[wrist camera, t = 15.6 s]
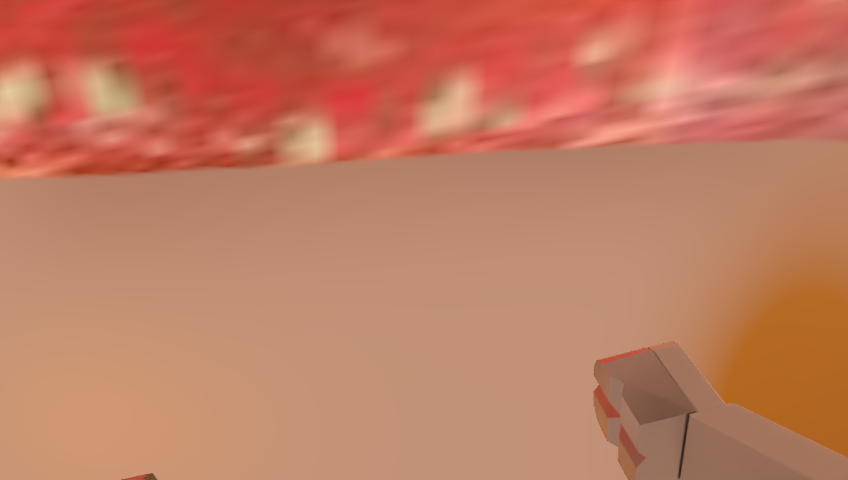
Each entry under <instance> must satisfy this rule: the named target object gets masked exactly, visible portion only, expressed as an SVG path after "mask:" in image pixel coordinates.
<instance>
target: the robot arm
mask: <svg viewBox="0 0 848 480" xmlns="http://www.w3.org/2000/svg"><path fill="white" fill-rule="evenodd" d="M594 376H595V378H596V380H597V382H598V383H599V385H598V387H597V388H596V389H595V391H594V407H595V411H596V416H597V419H598V422H599V424H600V427H601V429H602V431H603V433H604V435H605V437H606V439H607V441H609V442H610V443H612V444H614V445H616V446H618V462H619V463H620V465H621V467H622V469H623V471H624V473H625V474H626V476H627V478H628V480H848V458H847V457H845V456H843V455H841V454H838V453H836V452H834V451H832V450H830V449H828V448H826V447H824V446H822V445H820V444H817V443H816V442H814V441H812V440H809V439H807V438H805V437H803V436H801V435H799V434H797V433H795V432H793V431H791V430H789V429H787V428H785V427H783V426H780V425H778V424H776V423H774V422H772V421H770V420H768V419H766V418H764V417H762V416H760V415H758V414H756V413H754V412H751V411H749V410H747V409H745V408H743V407H741V406H739V405H737V404H735V403H731V404H725V403H724V401H723V400H722V399H721V398H720V396H719V395H718V394H717V393H716V391H715V390H714V389H713V387H712V386H711V385H710V384H709V382H708V381H707V380H706V378H705V377H704V376H703V375H702V373H701V372H700V371H699V369H698V368H697V367H696V366H695V364H694V363H693V362H692V360H691V359H690V358H689V357H688V356H687V354H686V353H685V351H684V350H683V349H682V348H681V346H680V345H679V344H678V343H676V342H674V341H671V342H668V343H663V344H660V345H656V346H652V347H648V348H642V349H639V350H635V351H631V352H627V353H623V354H620V355H616V356H612V357H608V358H604V359H601V360H597V361H596V363H595V365H594ZM122 480H157V479H156V477H155V476H154V474H153V473H151V474H145V475H140V476H136V477H132V478H127V479H122Z"/></svg>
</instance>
